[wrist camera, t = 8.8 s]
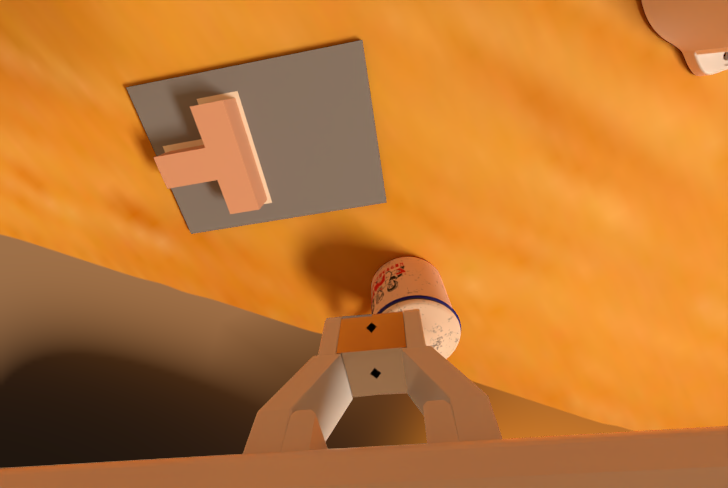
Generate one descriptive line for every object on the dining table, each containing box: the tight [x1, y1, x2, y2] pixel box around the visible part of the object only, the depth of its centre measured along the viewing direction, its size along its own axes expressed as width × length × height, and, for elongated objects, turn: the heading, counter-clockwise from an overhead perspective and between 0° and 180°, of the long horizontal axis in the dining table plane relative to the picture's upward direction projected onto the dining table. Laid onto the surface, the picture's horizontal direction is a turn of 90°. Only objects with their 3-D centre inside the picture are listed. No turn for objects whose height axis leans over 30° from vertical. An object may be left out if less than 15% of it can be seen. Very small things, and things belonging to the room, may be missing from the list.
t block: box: [153, 98, 267, 214], centre depth 32 cm, size 8×10×3 cm
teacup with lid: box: [371, 257, 461, 359], centre depth 36 cm, size 12×9×12 cm
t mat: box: [127, 40, 386, 234], centre depth 33 cm, size 22×15×1 cm
